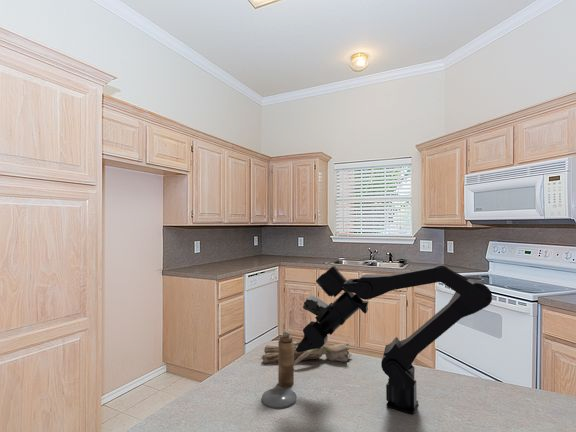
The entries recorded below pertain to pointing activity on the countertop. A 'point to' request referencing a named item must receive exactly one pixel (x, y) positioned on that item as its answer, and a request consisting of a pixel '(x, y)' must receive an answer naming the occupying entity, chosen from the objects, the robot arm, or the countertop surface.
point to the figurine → (310, 353)
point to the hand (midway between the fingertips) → (302, 345)
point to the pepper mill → (286, 360)
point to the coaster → (279, 397)
